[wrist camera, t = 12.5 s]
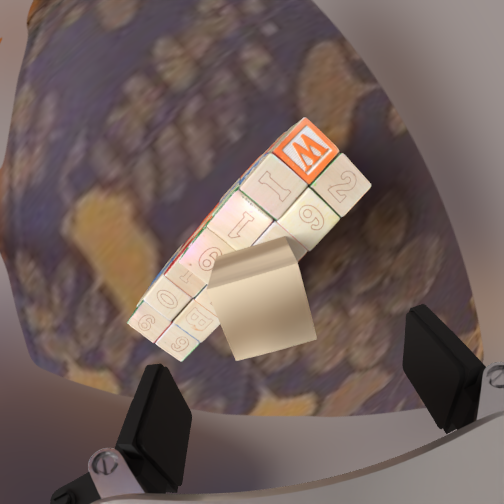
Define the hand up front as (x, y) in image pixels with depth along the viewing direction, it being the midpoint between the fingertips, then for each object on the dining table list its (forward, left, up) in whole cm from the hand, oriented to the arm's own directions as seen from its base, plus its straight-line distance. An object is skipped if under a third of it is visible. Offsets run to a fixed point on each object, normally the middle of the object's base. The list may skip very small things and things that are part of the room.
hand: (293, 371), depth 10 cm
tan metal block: (0, -1, -10) cm, 10 cm away
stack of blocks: (-1, -3, -22) cm, 22 cm away
